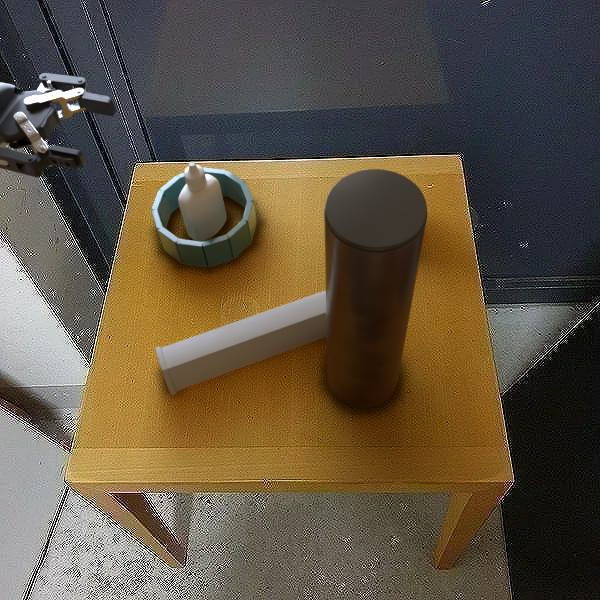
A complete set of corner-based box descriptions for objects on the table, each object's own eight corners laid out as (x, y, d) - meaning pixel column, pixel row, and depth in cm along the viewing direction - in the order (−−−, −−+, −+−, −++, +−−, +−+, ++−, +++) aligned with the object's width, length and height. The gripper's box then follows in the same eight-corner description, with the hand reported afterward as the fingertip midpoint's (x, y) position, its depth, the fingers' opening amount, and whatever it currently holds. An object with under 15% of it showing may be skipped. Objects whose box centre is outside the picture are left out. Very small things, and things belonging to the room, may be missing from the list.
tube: (356, 268, 82) (152, 339, 77) (375, 294, 78) (161, 370, 73) (360, 302, 85) (165, 372, 81) (378, 328, 81) (174, 403, 77)
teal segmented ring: (148, 259, 88) (139, 238, 85) (175, 185, 95) (168, 163, 91) (243, 272, 87) (239, 251, 83) (264, 196, 93) (261, 173, 89)
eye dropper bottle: (183, 221, 92) (164, 157, 81) (223, 209, 92) (209, 144, 82) (191, 246, 89) (173, 184, 79) (233, 233, 90) (220, 170, 80)
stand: (321, 402, 77) (315, 241, 52) (333, 340, 81) (332, 162, 56) (393, 413, 76) (423, 255, 50) (401, 350, 80) (432, 173, 55)
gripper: (-71, 129, 77) (61, 154, 74) (-8, 46, 84) (114, 66, 81) (-40, 175, 83) (83, 199, 80) (16, 94, 90) (130, 114, 87)
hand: (98, 133), depth 81 cm, fingers open, 8 cm apart
